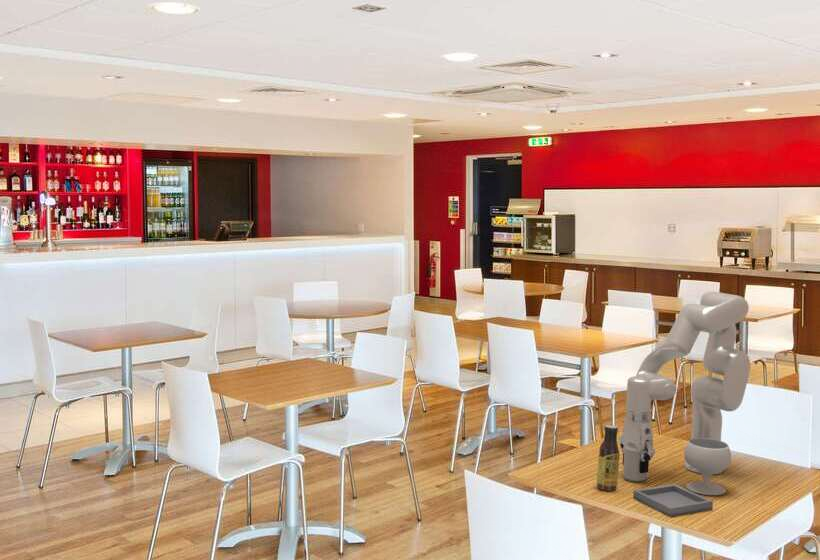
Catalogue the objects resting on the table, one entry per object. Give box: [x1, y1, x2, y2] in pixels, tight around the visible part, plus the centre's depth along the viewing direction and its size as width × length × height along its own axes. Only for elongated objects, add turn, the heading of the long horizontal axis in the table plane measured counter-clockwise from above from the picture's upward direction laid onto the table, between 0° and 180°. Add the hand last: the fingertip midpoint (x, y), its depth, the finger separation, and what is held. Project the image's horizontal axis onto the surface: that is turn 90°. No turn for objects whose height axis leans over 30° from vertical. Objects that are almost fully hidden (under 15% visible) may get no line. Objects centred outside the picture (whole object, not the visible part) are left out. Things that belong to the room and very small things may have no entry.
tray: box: [632, 483, 714, 518], centre depth 257 cm, size 16×16×2 cm
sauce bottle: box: [596, 424, 621, 492], centre depth 268 cm, size 6×6×20 cm
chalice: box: [683, 438, 732, 496], centre depth 270 cm, size 14×14×15 cm
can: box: [622, 443, 648, 483], centre depth 278 cm, size 8×8×12 cm
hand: (635, 468), depth 278 cm, fingers closed on can, 7 cm apart
